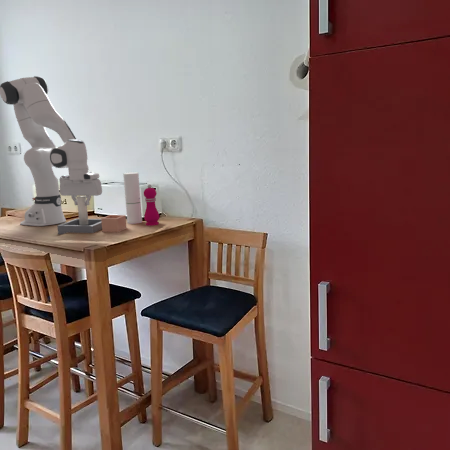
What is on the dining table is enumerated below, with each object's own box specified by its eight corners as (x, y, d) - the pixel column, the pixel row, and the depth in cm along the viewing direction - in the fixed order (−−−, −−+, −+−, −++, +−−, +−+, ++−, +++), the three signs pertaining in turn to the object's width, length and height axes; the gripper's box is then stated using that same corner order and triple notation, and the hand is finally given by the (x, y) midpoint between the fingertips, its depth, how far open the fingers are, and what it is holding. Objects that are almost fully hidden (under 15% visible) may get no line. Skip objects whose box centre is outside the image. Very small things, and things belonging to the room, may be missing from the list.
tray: (58, 234, 217) (57, 225, 216) (77, 226, 232) (76, 218, 231) (93, 235, 212) (92, 226, 211) (110, 227, 227) (109, 219, 226)
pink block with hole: (102, 233, 214) (101, 218, 213) (111, 229, 222) (109, 215, 220) (118, 234, 212) (117, 218, 211) (126, 230, 220) (125, 215, 218)
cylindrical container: (143, 222, 236) (140, 172, 230) (140, 225, 229) (136, 173, 223) (129, 222, 236) (125, 172, 231) (125, 225, 229) (121, 174, 224)
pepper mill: (153, 228, 221) (150, 185, 217) (141, 227, 225) (138, 185, 221) (163, 225, 227) (160, 183, 223) (151, 224, 231) (148, 183, 227)
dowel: (77, 225, 220) (75, 197, 217) (82, 223, 224) (79, 196, 221) (85, 225, 219) (82, 197, 216) (90, 223, 223) (87, 196, 220)
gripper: (55, 176, 216) (58, 206, 219) (95, 175, 211) (98, 206, 214) (63, 174, 222) (66, 203, 225) (102, 174, 217) (105, 204, 220)
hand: (82, 205), depth 220 cm, fingers closed on dowel, 4 cm apart
